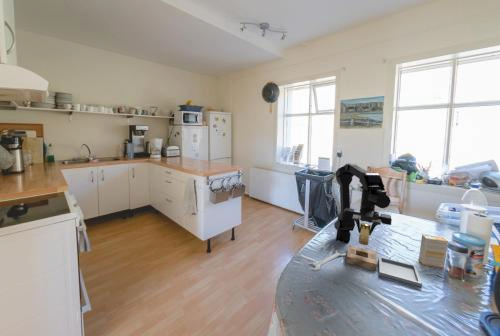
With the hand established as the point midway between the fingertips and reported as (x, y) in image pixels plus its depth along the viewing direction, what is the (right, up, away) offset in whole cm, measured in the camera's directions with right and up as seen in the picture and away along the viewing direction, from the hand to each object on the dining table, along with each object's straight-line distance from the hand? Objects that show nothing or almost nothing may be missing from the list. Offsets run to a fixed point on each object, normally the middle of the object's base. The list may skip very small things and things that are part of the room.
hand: (364, 233), depth 101 cm
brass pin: (0, -5, +1) cm, 4 cm away
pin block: (0, -13, +2) cm, 13 cm away
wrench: (-16, -13, +1) cm, 21 cm away
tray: (+10, -15, -7) cm, 19 cm away
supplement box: (+30, -14, 0) cm, 33 cm away
